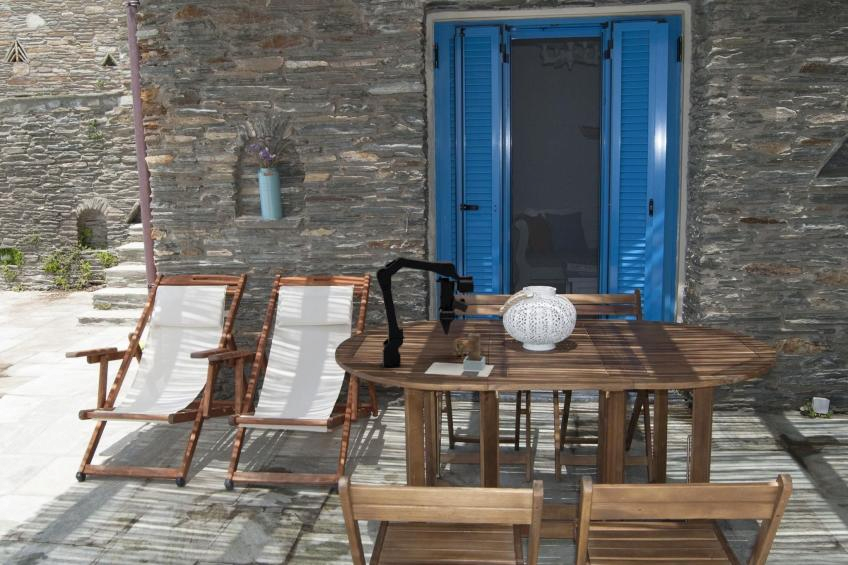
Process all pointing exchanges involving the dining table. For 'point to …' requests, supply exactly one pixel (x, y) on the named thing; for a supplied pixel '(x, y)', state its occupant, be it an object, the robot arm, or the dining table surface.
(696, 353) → the dining table surface
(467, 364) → the sleeve
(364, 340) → the dining table surface
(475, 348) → the walnut block
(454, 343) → the lion figurine
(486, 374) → the board
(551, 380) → the dining table surface
